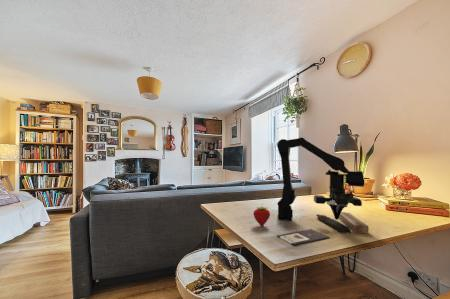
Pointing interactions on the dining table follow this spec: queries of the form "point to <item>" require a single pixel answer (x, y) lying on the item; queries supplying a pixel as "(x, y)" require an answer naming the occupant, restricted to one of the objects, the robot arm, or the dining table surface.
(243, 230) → the dining table surface
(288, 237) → the chocolate bar
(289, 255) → the dining table surface
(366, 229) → the laid board
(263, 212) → the strawberry
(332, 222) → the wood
